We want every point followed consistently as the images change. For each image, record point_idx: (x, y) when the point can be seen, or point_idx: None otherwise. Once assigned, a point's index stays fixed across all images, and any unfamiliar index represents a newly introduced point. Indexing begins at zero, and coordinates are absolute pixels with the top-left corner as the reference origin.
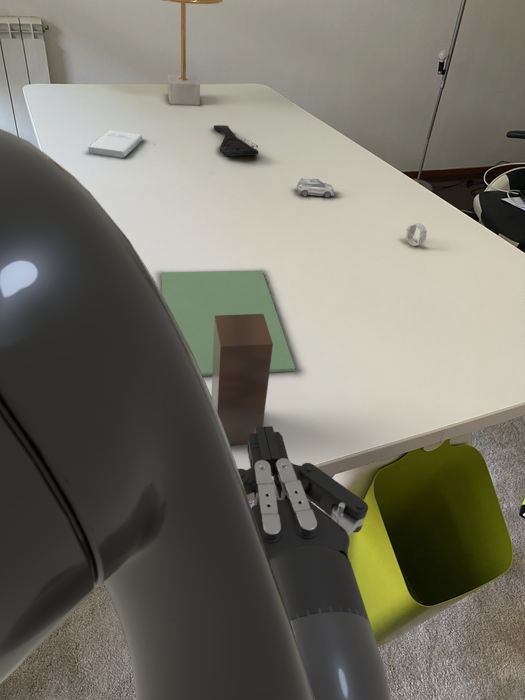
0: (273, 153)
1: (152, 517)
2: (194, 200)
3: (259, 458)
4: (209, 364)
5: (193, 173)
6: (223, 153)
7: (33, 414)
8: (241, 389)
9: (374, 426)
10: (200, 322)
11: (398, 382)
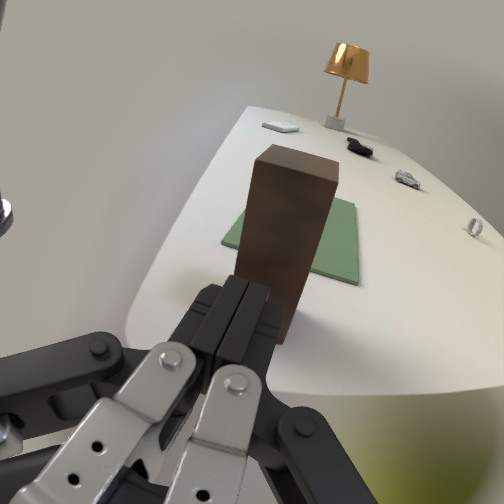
0: (382, 159)
1: None
2: None
3: (190, 340)
4: None
5: (324, 149)
6: (349, 148)
7: None
8: (273, 250)
9: (424, 371)
10: None
11: (455, 332)
